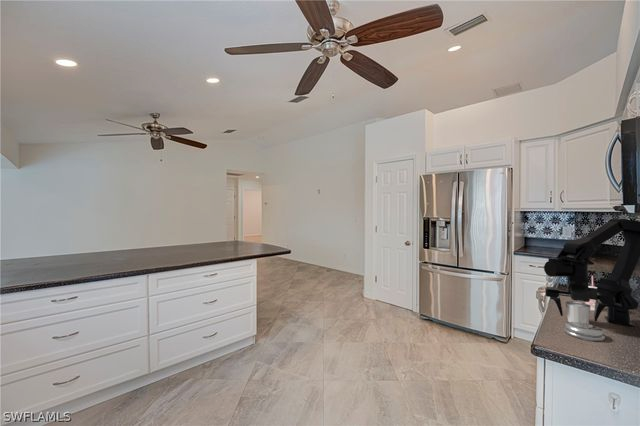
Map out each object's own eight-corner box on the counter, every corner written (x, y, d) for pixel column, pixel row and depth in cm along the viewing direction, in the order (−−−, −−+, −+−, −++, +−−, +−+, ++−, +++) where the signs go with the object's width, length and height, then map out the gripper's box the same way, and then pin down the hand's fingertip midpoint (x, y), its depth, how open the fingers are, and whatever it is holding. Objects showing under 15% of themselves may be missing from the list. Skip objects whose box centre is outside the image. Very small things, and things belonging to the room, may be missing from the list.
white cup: (590, 322, 104) (590, 303, 104) (591, 327, 99) (591, 308, 99) (565, 317, 108) (565, 299, 108) (565, 323, 103) (565, 304, 103)
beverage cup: (579, 306, 121) (579, 274, 122) (596, 307, 120) (596, 274, 120) (589, 310, 116) (588, 277, 116) (607, 312, 114) (606, 277, 114)
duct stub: (562, 326, 100) (562, 319, 100) (601, 333, 94) (601, 325, 94) (565, 336, 92) (565, 328, 92) (608, 344, 86) (608, 336, 86)
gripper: (546, 277, 103) (546, 319, 103) (619, 284, 92) (620, 332, 91) (544, 272, 112) (545, 311, 112) (611, 278, 100) (612, 321, 100)
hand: (578, 318), depth 104 cm, fingers open, 9 cm apart
